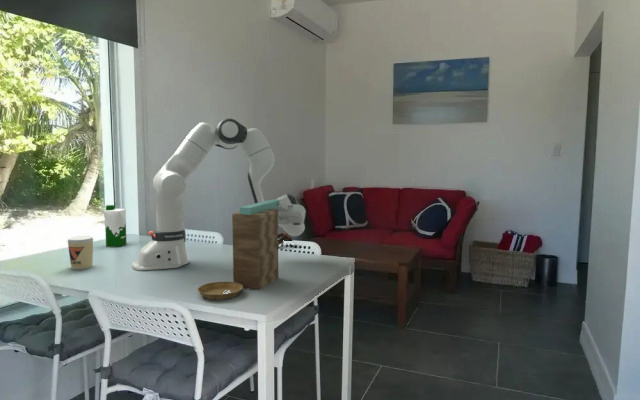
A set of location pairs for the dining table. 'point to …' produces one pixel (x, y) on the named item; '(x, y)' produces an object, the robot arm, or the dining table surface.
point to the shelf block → (255, 248)
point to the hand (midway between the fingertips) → (272, 202)
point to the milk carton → (115, 226)
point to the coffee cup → (81, 252)
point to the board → (259, 207)
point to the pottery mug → (283, 238)
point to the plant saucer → (220, 290)
